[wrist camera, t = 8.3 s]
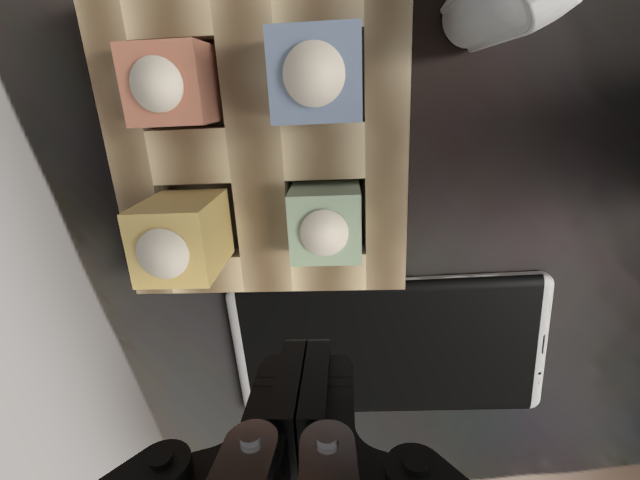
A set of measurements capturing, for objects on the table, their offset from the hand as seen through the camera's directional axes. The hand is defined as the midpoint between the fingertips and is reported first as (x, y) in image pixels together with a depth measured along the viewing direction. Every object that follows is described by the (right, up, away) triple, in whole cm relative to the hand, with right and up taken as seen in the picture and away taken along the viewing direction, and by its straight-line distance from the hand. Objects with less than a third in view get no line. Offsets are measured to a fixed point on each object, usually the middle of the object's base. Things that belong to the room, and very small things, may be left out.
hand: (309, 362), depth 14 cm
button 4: (+1, +7, +18) cm, 19 cm away
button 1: (-8, +15, +15) cm, 23 cm away
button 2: (-8, +5, +16) cm, 18 cm away
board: (-4, +11, +18) cm, 21 cm away
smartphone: (+6, -5, +24) cm, 25 cm away
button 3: (0, +14, +12) cm, 18 cm away
